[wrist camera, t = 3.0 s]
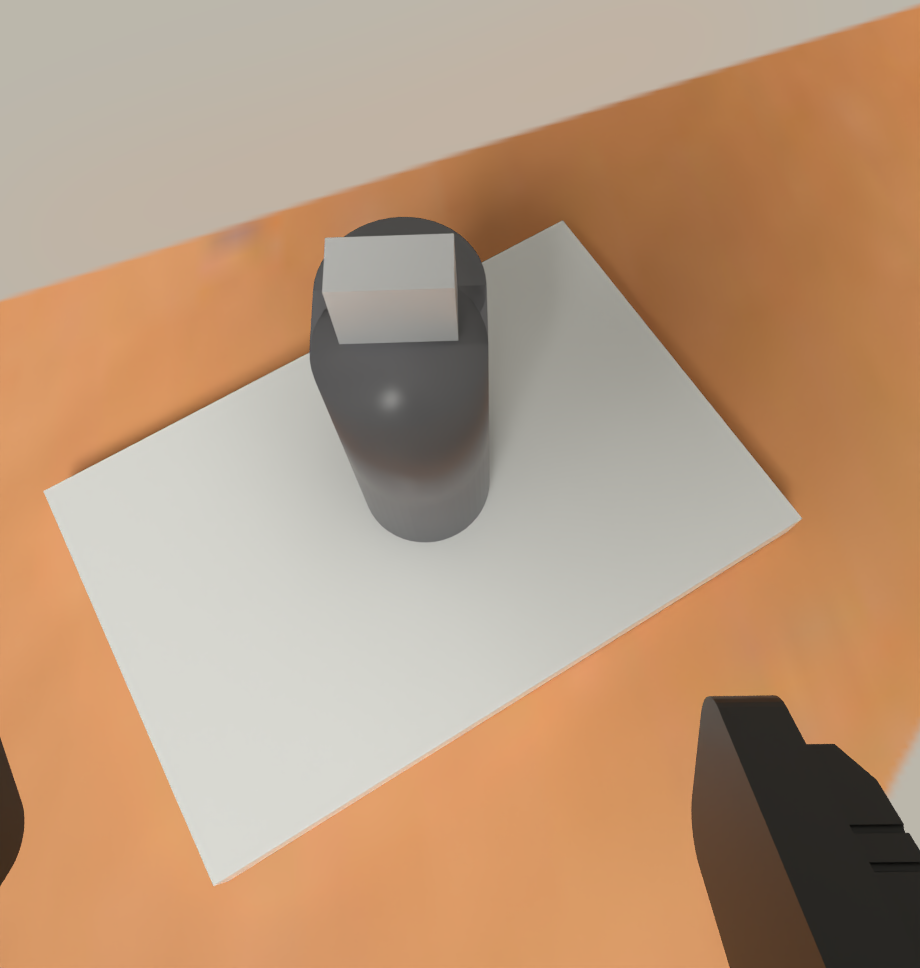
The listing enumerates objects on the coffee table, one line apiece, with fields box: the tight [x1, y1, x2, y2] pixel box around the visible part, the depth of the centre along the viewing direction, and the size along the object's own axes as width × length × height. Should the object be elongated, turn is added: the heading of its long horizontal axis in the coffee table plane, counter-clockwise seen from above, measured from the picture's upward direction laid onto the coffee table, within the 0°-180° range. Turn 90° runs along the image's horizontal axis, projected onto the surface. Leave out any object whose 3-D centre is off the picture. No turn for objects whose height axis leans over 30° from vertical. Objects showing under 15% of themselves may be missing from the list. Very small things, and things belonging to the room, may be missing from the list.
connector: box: [310, 217, 489, 542], centre depth 19 cm, size 5×4×9 cm
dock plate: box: [44, 220, 802, 886], centre depth 24 cm, size 18×12×1 cm, turn 121°
